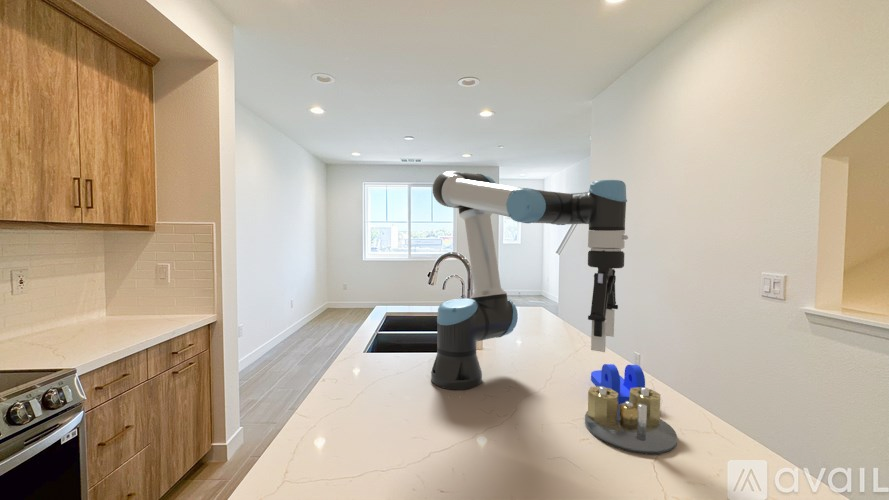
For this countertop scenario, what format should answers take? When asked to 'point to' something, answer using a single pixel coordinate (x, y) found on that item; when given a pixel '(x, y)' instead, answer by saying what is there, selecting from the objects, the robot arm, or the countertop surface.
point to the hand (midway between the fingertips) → (603, 342)
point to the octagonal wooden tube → (603, 406)
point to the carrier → (637, 425)
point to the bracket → (619, 380)
